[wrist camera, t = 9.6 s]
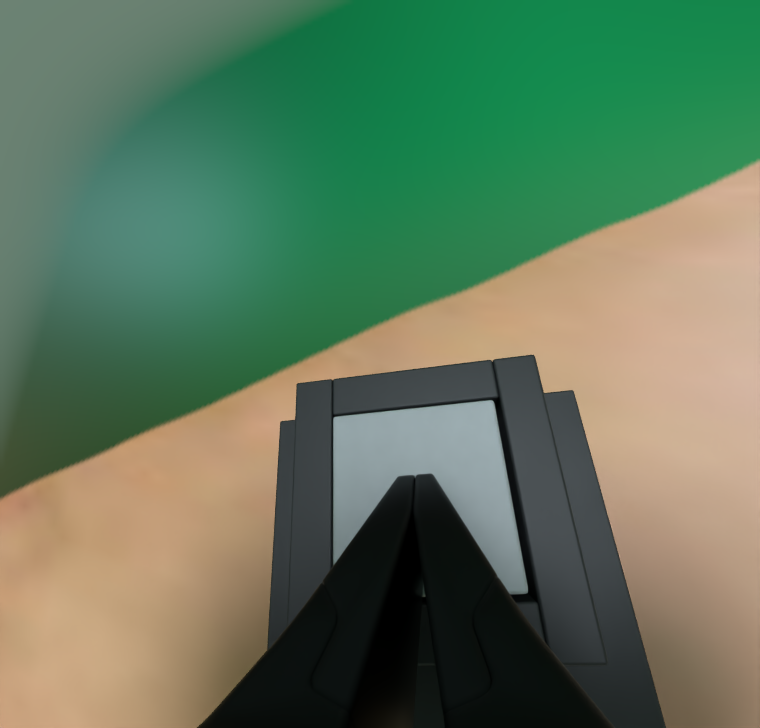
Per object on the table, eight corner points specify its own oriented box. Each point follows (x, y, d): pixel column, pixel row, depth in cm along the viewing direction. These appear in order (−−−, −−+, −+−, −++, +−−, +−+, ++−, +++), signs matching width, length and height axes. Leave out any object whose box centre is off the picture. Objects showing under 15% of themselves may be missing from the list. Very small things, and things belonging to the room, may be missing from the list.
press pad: (514, 579, 10) (530, 594, 8) (358, 583, 11) (332, 599, 9) (487, 422, 12) (494, 398, 10) (355, 435, 13) (332, 416, 10)
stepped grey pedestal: (613, 696, 12) (730, 830, 7) (313, 692, 14) (221, 796, 8) (544, 405, 16) (584, 347, 11) (318, 428, 17) (256, 387, 12)
